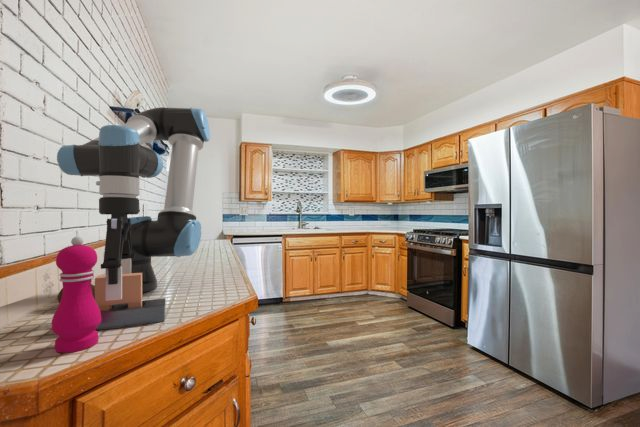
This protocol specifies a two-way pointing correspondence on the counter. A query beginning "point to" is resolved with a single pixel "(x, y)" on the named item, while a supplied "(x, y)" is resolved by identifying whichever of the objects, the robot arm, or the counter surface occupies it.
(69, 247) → the pepper mill
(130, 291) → the peach wedge-cut bar
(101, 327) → the rail
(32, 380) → the counter surface
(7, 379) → the counter surface
